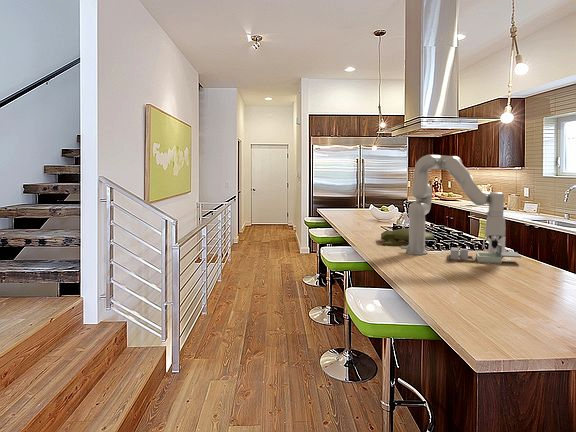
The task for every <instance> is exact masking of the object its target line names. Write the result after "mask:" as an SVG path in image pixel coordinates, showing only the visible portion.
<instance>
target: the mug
mask: <svg viewBox="0 0 576 432" xmlns="http://www.w3.org/2000/svg"><path fill="white" fill-rule="evenodd" d="M493 236H494V241H495V239H496V236H495V235H493ZM506 238H507V237H504V238H500V239H499V240H498V243H500V244H501V246H502V250H501V252H506ZM486 240H487V241H488V248H487V249H486V247H485V241H486ZM482 243H483V245H482V247H483V249H484V250H485V251H487V253H494V251H497V246H496V248H493V246H491V244H492V240H491V239H490V238H489V237H488V238H483V242H482Z"/></svg>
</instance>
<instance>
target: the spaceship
mask: <svg viewBox="0 0 576 432" xmlns="http://www.w3.org/2000/svg"><path fill="white" fill-rule="evenodd" d="M434 237H435V236H434V235H433V234H432V232H430V231H427V230H425V241H427V240H432V239H434ZM380 239H381V240H384V241H382V242H381V245H382V246H385V247H386V246H387V247H390V246H391V247H401V246H408V245H409V228H408V227H407V228H399V229H395V230H385V231H383V232H382V233H381V234H380ZM401 240H402V242H401ZM403 241H408V242H403ZM425 247H427V244H426V243H425Z"/></svg>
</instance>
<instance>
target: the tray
mask: <svg viewBox="0 0 576 432" xmlns="http://www.w3.org/2000/svg"><path fill="white" fill-rule="evenodd" d="M450 255H451V254H447V256H446V257H447V262H460V263H461V262H462V263H476V258H475V257H474V256H473V255H468V260H464V259H460V254H459V258H458V259H450Z"/></svg>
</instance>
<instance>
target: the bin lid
mask: <svg viewBox="0 0 576 432" xmlns="http://www.w3.org/2000/svg"><path fill="white" fill-rule="evenodd" d="M501 250H502V246H501V244H500V243H498V246H497V251H494V253H495V254H496V256H498V257H502V258H520V259H521V258H522V255H520V254H519V253H518V251H505V252H501Z"/></svg>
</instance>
